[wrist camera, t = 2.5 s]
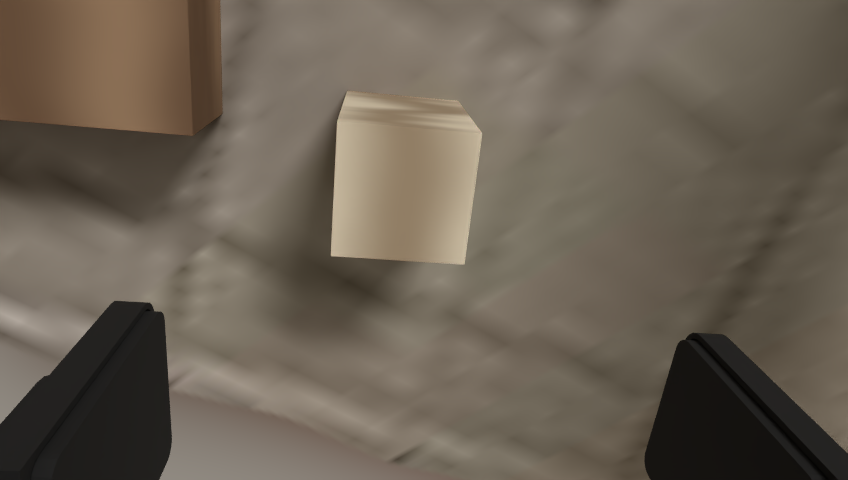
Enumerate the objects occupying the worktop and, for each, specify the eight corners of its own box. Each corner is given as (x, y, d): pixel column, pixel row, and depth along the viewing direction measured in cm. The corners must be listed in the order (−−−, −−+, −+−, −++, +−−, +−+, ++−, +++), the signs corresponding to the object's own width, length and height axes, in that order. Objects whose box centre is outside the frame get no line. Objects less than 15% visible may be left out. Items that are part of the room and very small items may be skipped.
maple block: (457, 100, 27) (482, 133, 21) (445, 205, 29) (464, 264, 23) (347, 90, 27) (337, 121, 20) (341, 197, 29) (330, 255, 22)
